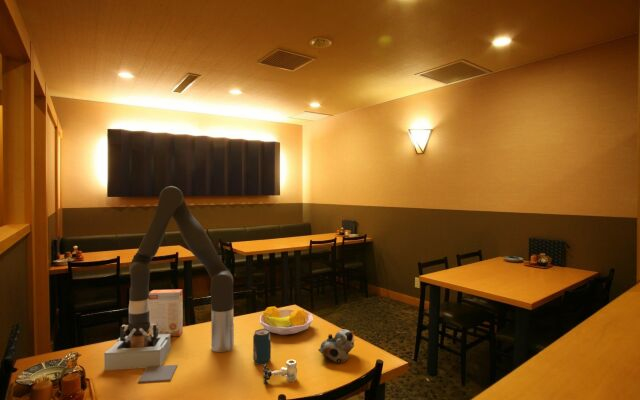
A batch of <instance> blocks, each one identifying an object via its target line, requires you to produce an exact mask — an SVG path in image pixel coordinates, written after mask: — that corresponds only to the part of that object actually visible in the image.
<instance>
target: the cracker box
mask: <svg viewBox="0 0 640 400" xmlns="http://www.w3.org/2000/svg"><path fill="white" fill-rule="evenodd" d="M149 304H150V321H149V322H150V324H155V323H158V334H170V337H179V336H181V335H182V333H183V331H184V330H183V329H184V328H183V327H184V325H183V323H184V321H183V320H184V316H183V314H184V313H183V311H184V310H183V309H184V308H183V307H184V306H183V289H179V288H177V289H153V290H151V291H149ZM148 330H149V331H150V332H151V335H153V330H152V328H151V327H150V328H149V329H148Z"/></svg>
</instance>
